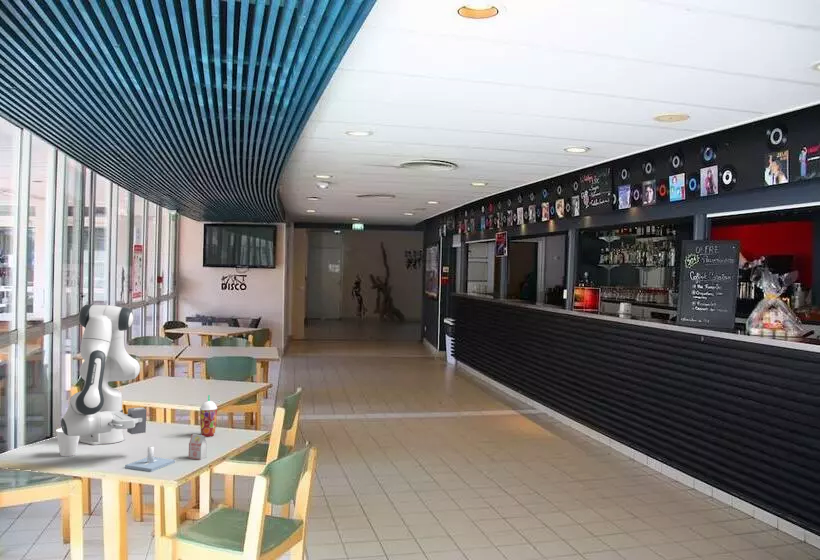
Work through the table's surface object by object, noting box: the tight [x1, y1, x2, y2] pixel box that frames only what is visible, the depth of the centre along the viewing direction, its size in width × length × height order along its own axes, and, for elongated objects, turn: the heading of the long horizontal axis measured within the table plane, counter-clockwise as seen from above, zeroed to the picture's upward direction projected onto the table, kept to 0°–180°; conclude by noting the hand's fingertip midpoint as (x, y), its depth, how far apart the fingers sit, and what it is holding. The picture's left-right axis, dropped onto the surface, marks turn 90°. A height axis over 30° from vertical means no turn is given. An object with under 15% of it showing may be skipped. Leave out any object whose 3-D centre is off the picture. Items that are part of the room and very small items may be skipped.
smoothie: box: [199, 394, 218, 438], centre depth 314 cm, size 8×8×20 cm
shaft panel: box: [124, 446, 176, 473], centre depth 262 cm, size 13×14×8 cm
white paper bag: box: [188, 433, 208, 461], centre depth 275 cm, size 4×7×10 cm, turn 66°
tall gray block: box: [126, 406, 147, 435], centre depth 274 cm, size 6×6×10 cm
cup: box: [55, 427, 80, 457], centre depth 274 cm, size 10×10×11 cm
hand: (138, 417), depth 275 cm, fingers closed on tall gray block, 6 cm apart
